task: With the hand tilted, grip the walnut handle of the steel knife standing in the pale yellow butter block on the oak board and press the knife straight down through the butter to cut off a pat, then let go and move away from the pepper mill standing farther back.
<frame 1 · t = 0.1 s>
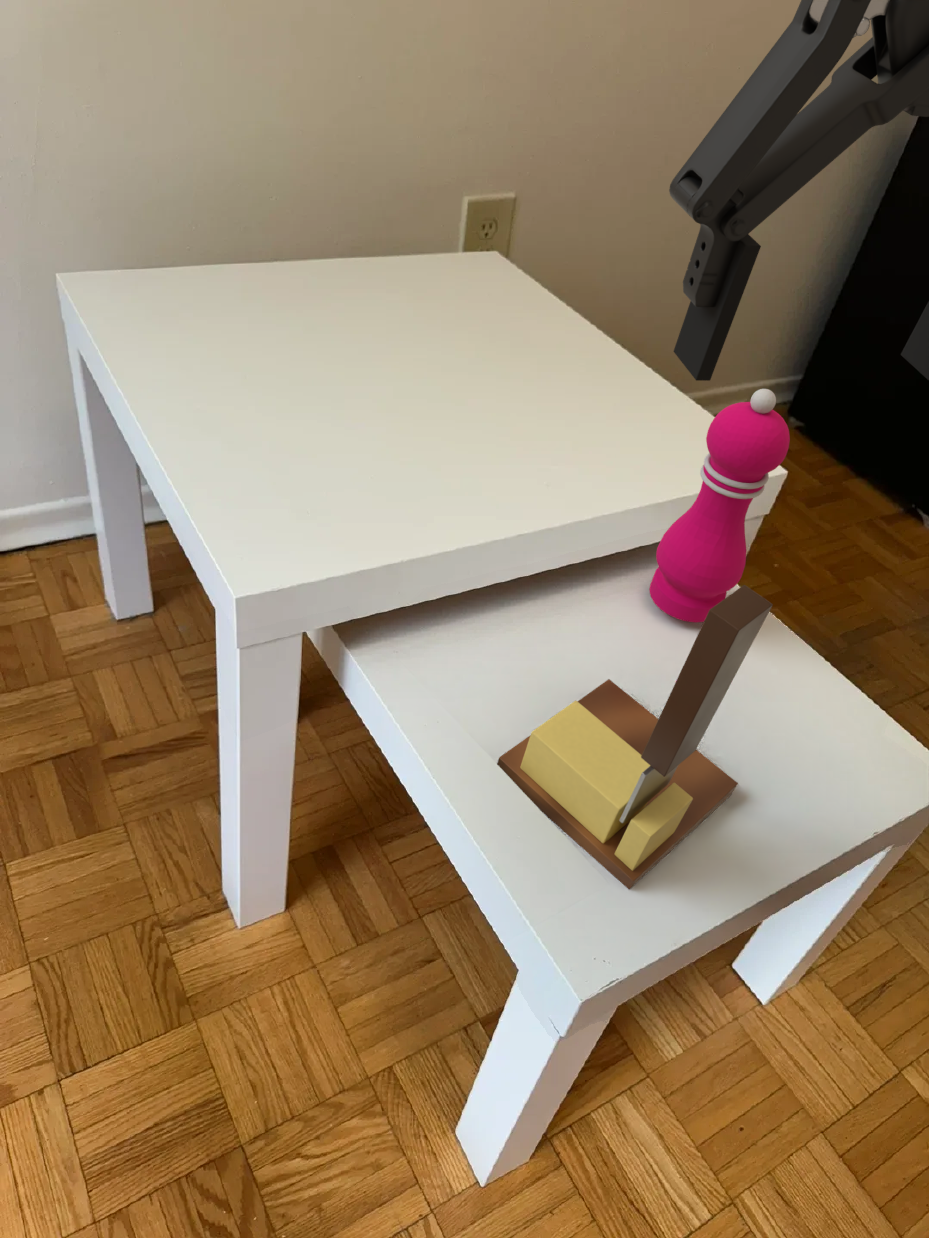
hand: (810, 367, 47), 31 cm above the table, tool pointing down, fingers open, 13 cm apart
knife: (687, 715, 52), point 13 cm above the table, slide at 0.0 cm
butter: (623, 842, 62), resting on board
pepper mill: (683, 600, 80), on the table
board: (614, 783, 65), on the table
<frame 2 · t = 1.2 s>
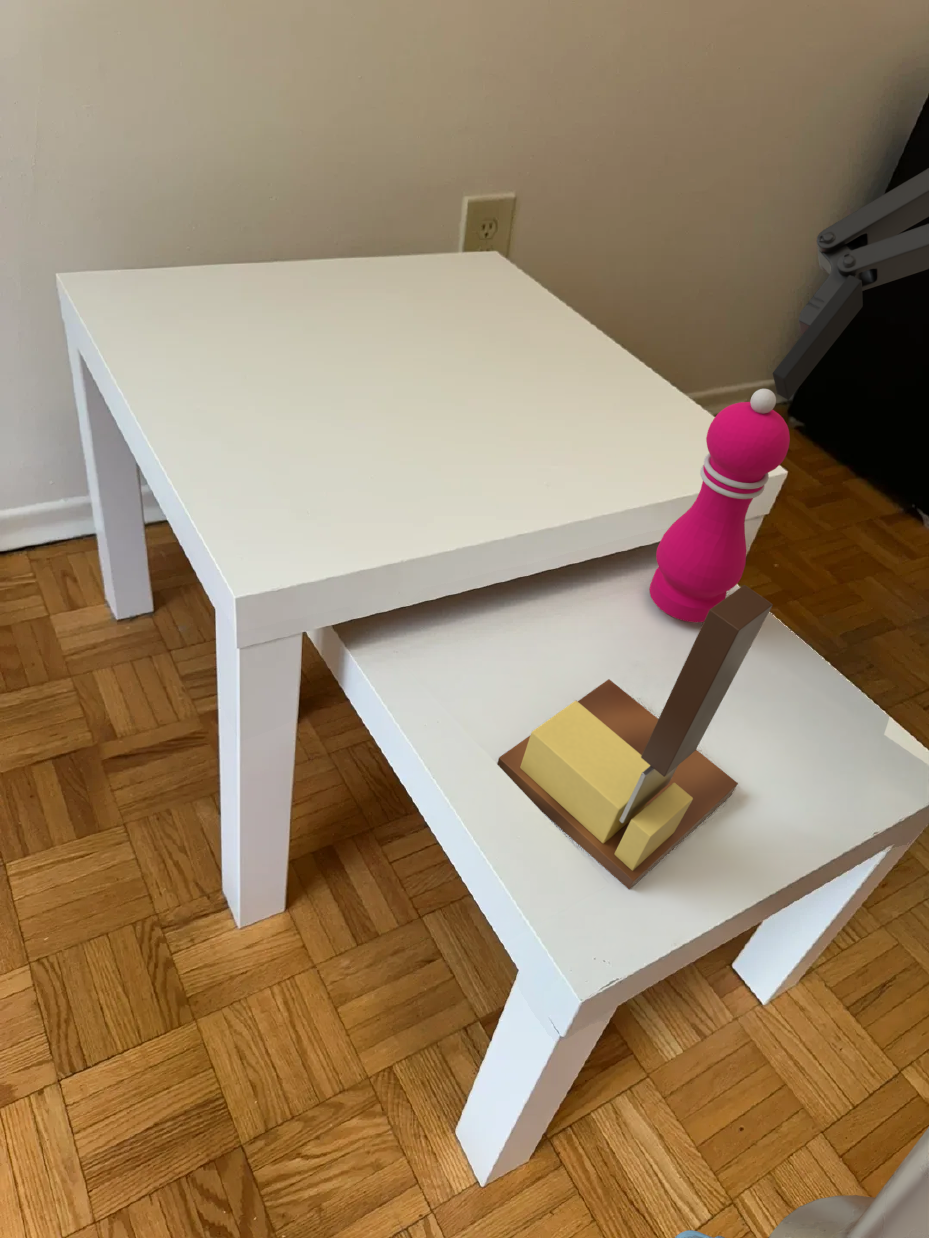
hand: (888, 449, 49), 28 cm above the table, tool tilted 45°, fingers open, 13 cm apart
nothing on the table moved.
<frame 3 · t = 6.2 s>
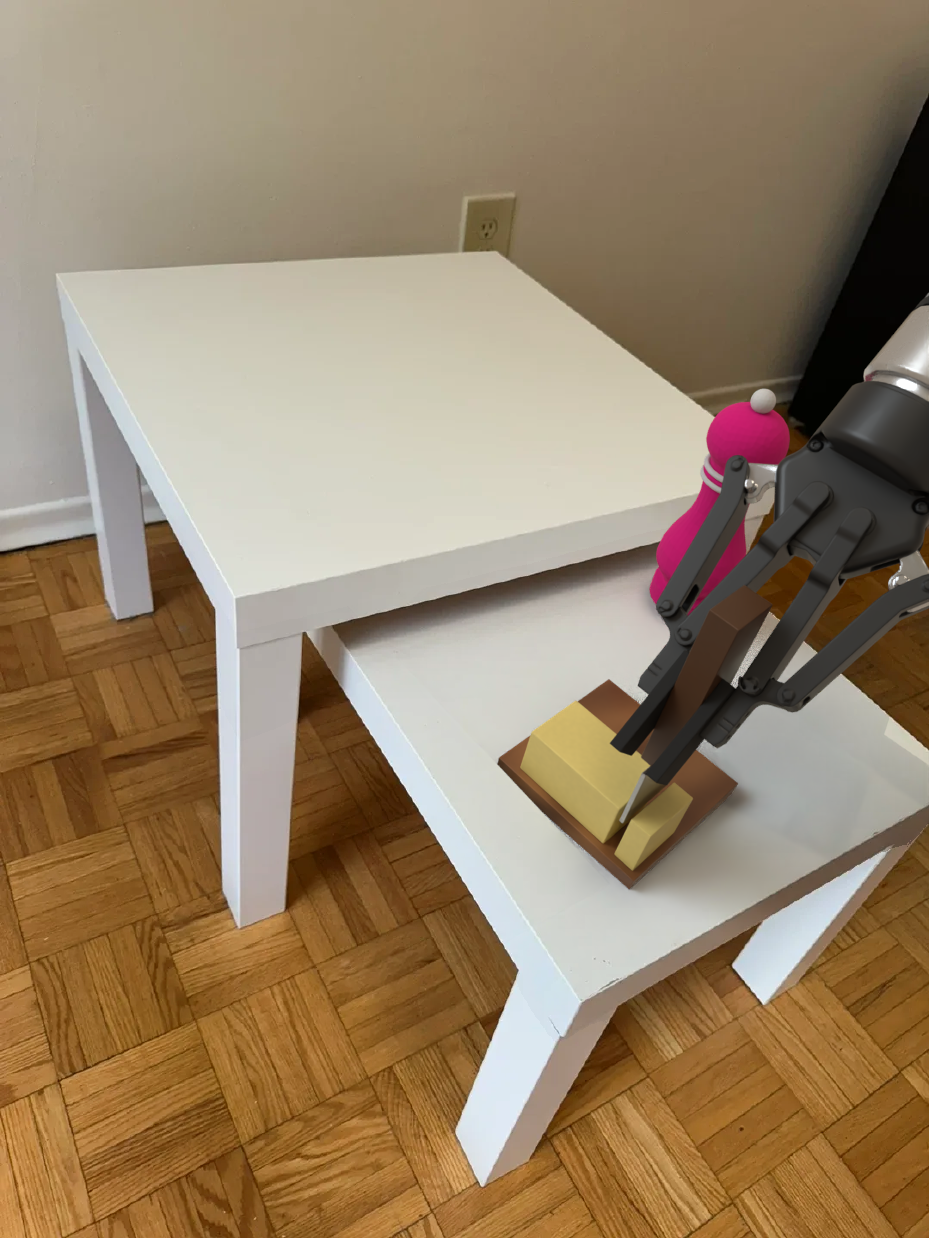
hand: (638, 764, 51), 12 cm above the table, tool tilted 45°, fingers closed on knife, 2 cm apart
knife: (687, 715, 52), point 13 cm above the table, slide at 0.0 cm, touching gripper
everything else where it was.
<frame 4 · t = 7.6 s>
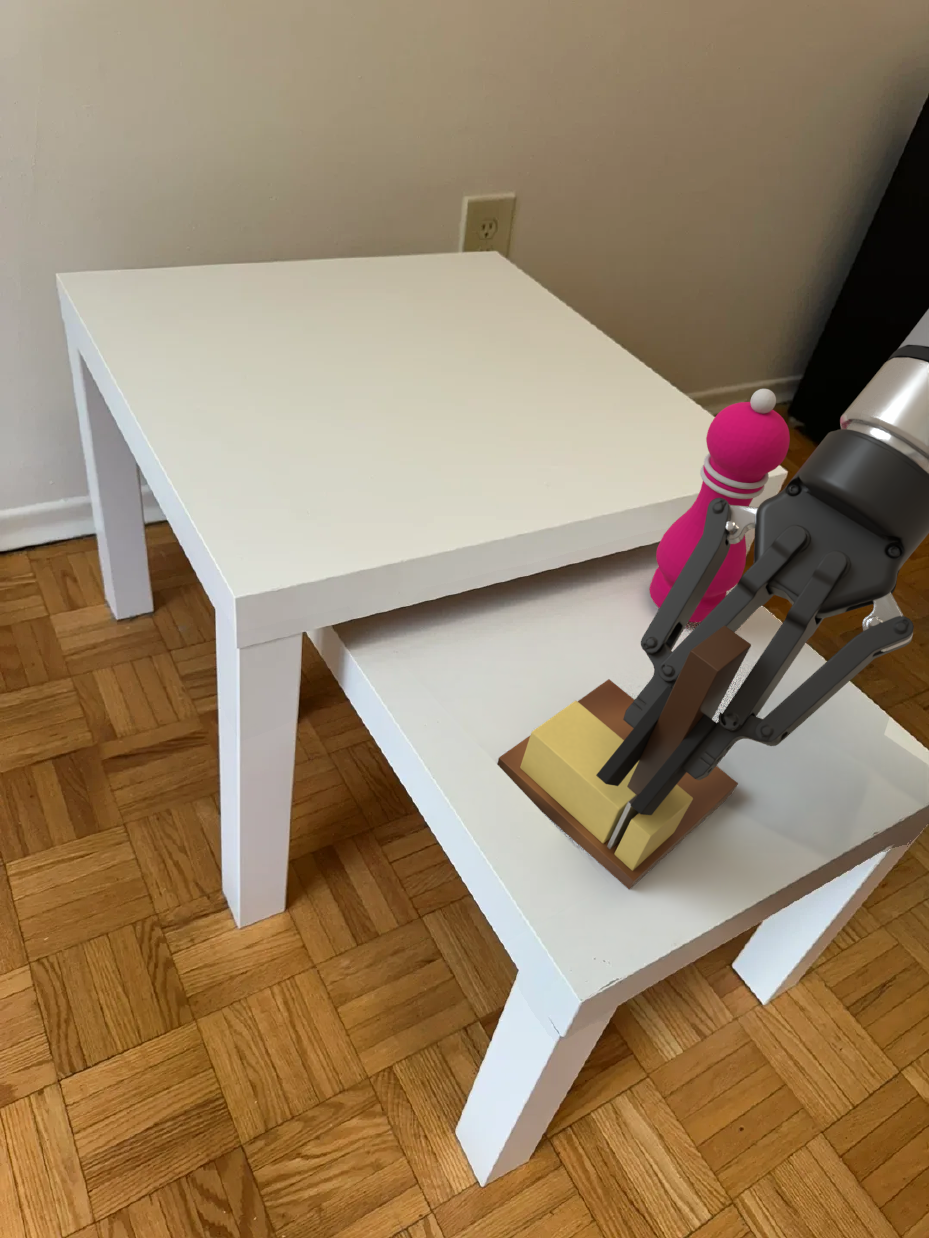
hand: (624, 794, 53), 9 cm above the table, tool tilted 45°, fingers closed on knife, 2 cm apart
knife: (671, 747, 55), point 10 cm above the table, slide at 3.0 cm, touching gripper
everything else where it was.
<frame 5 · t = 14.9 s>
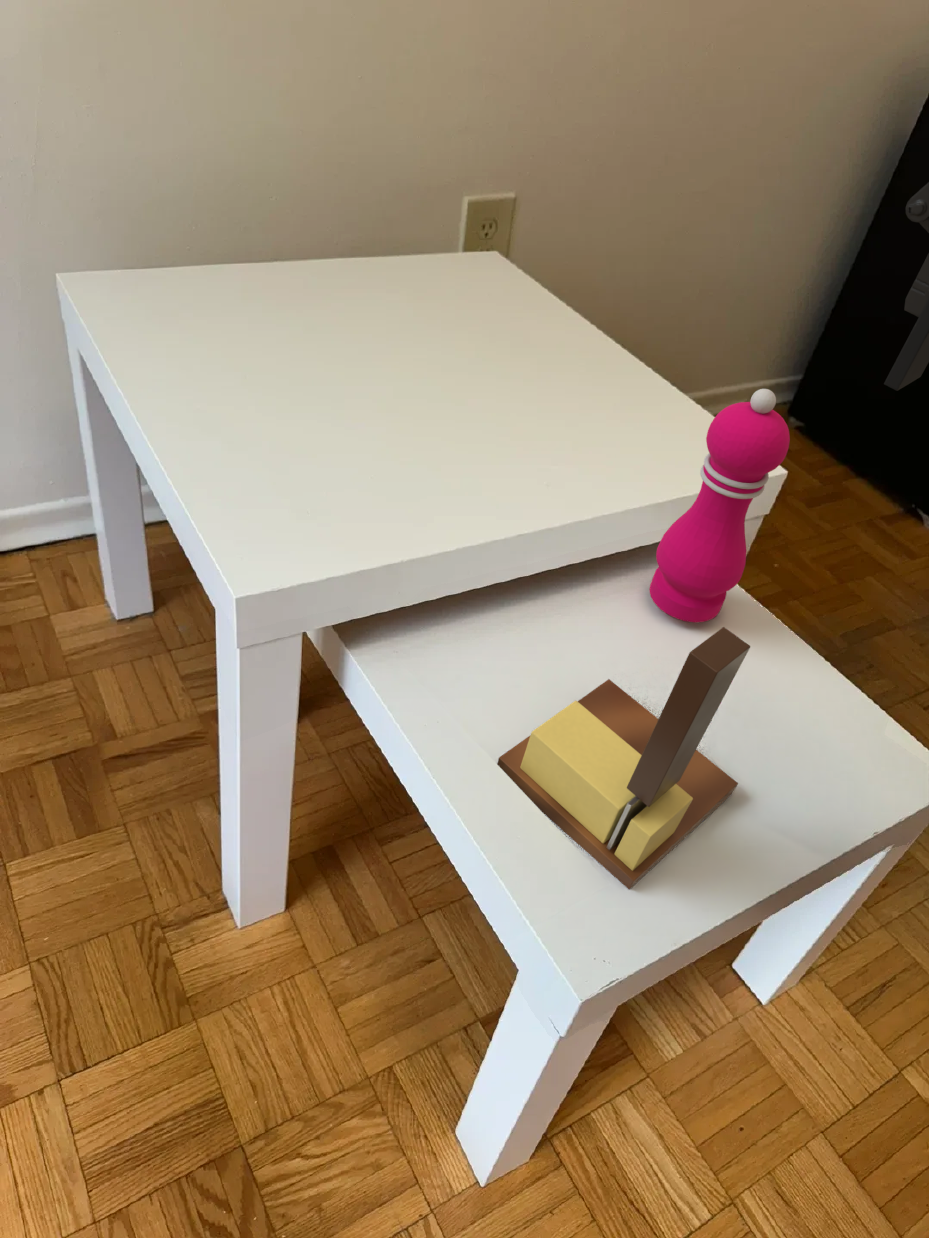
knife: (670, 748, 55), point 10 cm above the table, slide at 3.1 cm
everything else where it was.
at the end: knife slide at 3.1 cm; the gripper is holding nothing; pepper mill moved 0.1 cm from its start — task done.
